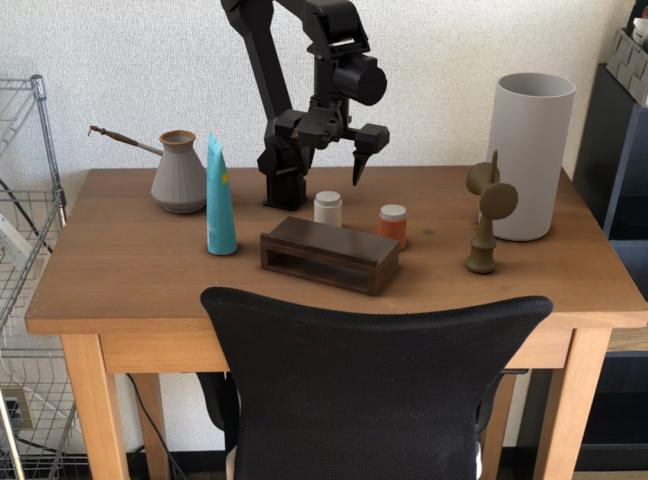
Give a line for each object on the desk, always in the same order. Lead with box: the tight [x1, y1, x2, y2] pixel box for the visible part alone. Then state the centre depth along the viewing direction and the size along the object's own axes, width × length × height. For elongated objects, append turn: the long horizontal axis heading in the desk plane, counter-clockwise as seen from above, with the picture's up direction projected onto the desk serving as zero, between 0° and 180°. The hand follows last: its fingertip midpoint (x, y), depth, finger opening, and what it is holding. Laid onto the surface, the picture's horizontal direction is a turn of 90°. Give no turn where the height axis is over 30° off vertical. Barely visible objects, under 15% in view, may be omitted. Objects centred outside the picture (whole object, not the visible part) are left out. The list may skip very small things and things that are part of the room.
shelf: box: [259, 215, 400, 297], centre depth 136 cm, size 20×10×6 cm, turn 64°
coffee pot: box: [87, 124, 207, 214], centre depth 152 cm, size 21×12×15 cm, turn 91°
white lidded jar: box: [313, 190, 343, 228], centre depth 146 cm, size 5×5×6 cm
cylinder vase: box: [478, 71, 577, 242], centre depth 143 cm, size 12×12×25 cm
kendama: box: [464, 150, 518, 274], centre depth 132 cm, size 6×10×20 cm, turn 8°
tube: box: [206, 130, 238, 256], centre depth 137 cm, size 7×5×19 cm, turn 26°
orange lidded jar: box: [377, 204, 408, 251], centre depth 142 cm, size 5×5×6 cm
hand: (329, 180), depth 143 cm, fingers open, 9 cm apart
